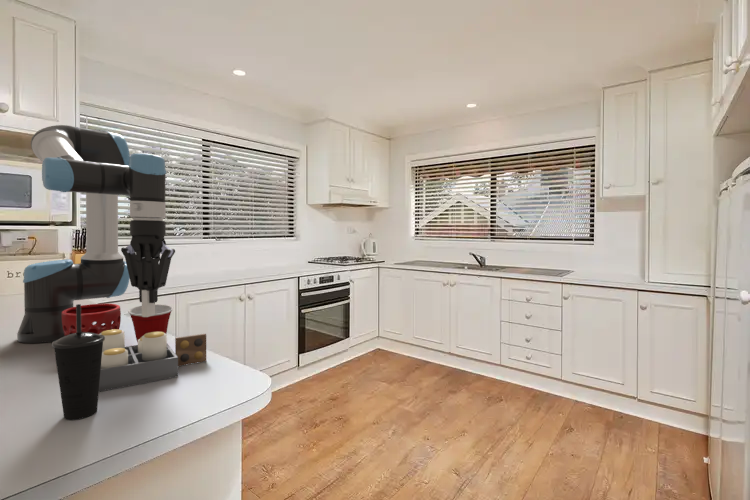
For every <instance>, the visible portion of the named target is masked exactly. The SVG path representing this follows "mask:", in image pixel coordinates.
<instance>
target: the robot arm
mask: <svg viewBox="0 0 750 500" xmlns="http://www.w3.org/2000/svg"><path fill="white" fill-rule="evenodd" d="M30 140H31V141H30V148H31V151H32V152H33V154H34V155H35V157H36V158H37V159H38V160H40V161H41V162H42V163H41V164H42V165H41V181H42V186H43V187H44V188H45V189H46V190H48V191H55V192H61V193H82V194H83V193H84V194H85V207H86V209H85V223H86V224H85V227H86V228H85V230H86V232H85V233H86V235H85V237H86V239H85V240H86V242H85V243H86V244H85V245H86V251H85V253H84V254H83V255H82V256H80V263H74V261H73V260H72V259H69V258H68V259H57V260H49V261H48V260H47V261H41V262H36V263H33V264H32V263H31V264H29V265H27V266H26V267H25V268H24V271H23V280H22V283H23V292H24V293H23V296H24V301H23V302H24V303H23V304H24V306H23V307H24V315H23V317H22V319H21V323H20V326H19V328H18V331H17V333H16V334H17V342H18V343H22V344H40V343H50V342H54V341H55V340H58V339H60V338H62V337H64V336H65V334H64V331H63V325H62V311H64V310H66V309H68V308H72V307H74V301H81V300H83V301H84V300H93V299H104V298H105V299H106V298H107V299H110V298H113V297H115V298H116V297H121V296H122V295H124V294H125V293H126V291H127V289H128V287H129V284H131V286H132V287H133V288H134V287H135V288H137V289H138V291H139V293H138V297H139V298H138V301H139V303H141V306H142V317H150V316H153V315H155V304H156V303H158V294H159V293H158V289H161V288H163V287H166V286H167V285H166V284H167V280H168V279H167V278H168V276H169V270H170V266H171V262H172V258H173V256H174V255H175V253H176V250H175V249H174V248H170V247H169V246H168V245H167V243H166V240H165V236H166V231H167V230H166V224H167V223H166V222H165V221H166V220H164V219H166V216H167V213H166V211H167V209H166V174H167V170H166V161H165V159H164V157H162V156H160V155H156V154H151V153H140V152H139V153H132V154H131V155H130V148H129V144H128V142H127V140H126V139H125V138H124V137H123V135H121V134H119V133H116V132H115V133H114V132H110V131H109V130H108V131H106V130H100V129H93V128H85V127H80V126H79V127H77V126H73V125H67V124H66V125H63V124H60V125H59V124H56V125H50V126H45V127H44V128H41V129H39V130H38V131H36V132H35V133H34V134H33V135H32V137H31V139H30ZM119 196H126V197H128V198H129V217H130V218H132V220H130V221H129V235H131V239H130V243H129V245H127V246H125V247H123V246H122V247H121V249H120V251H121V253H122V254H123V255H122V254H121V253H120V252H119ZM124 260H125V261H124Z"/></svg>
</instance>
